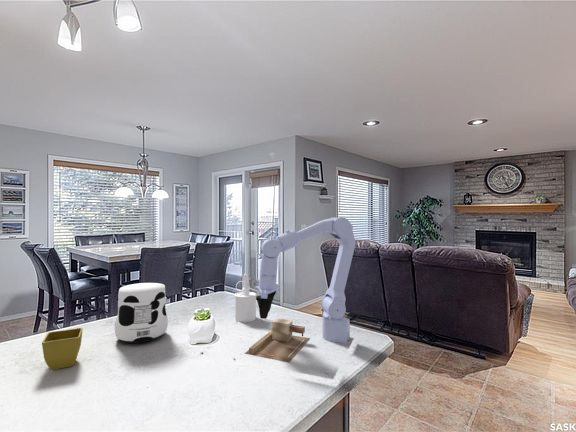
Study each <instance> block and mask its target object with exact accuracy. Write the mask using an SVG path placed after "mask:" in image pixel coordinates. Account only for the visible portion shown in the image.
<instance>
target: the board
mask: <svg viewBox="0 0 576 432" xmlns="http://www.w3.org/2000/svg"><path fill="white" fill-rule="evenodd" d="M310 339H311V338H310V337H307V336H306V337H305V336H300V335H294V334H292V338H291V339H290V340H289V341H288V342H287V341H281V340H275V339H272V329H271V330H270V331H269V332H268V333H266V334H265V335H263V336H262V337H261V338H259V339H258V341H256V342H255V343H253V344H252V345H251V346H250V347H249V348H248V350H247V351H245V352H244V354H245V355H248V356H255V357H259V358H264V359H269V360H274V361H279V362H285V363H291V361H292V360H293V359H294V358H295V357H296V355H297V354H298V353H299V352H300V351H301V350H302V349H303V348H304V346H305V345H306V344H307V342H309V341H310Z"/></svg>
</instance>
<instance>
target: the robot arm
mask: <svg viewBox="0 0 576 432" xmlns="http://www.w3.org/2000/svg"><path fill="white" fill-rule="evenodd" d="M353 229H354V226H353V224H352V223H351V222H350V221H349V219H348V218H346V217H341V216H340V217H336V216H335V217H334V216H333V217H329V218H326V219H325V218H324V219H322V220H320V221H317V222H315V223H313V224H311V225H309V226H307V227H305V228H302V229H301V230H298V231H296V230H294V229H291V230H290V229H287V230H285V231H284V232H283V233H281V234H279V235H277V236H276V235H274V236H273V235H272V239H265V240H264V241H263V242H262V243H261V246H260V251H261V260H260V269H259V282H258V286H257V285H256V286H255V287H254V290H257V291H258V292H259V294H260V295H259V296H256V303H257V302H258V306H259V310H258V311H259V317H260V319H265V320H266V319H267V318H268V315H269V313H270V311H271V308H272V303H273V301H274V297H275V295H276V294H277V288H276V287H277V276H278V275H277V274H278V264H279V262H278V258H279V257H278V256H279V255H281V253H283V252H286V251H288V250H291V249H293V248H295V247H298V246H299V244H300V243H301V241H302V240H305V239H307V238H310V237H313V236H316V235H318V234H320V233H327V234H329V235H331V236H332V237H334V238H335V240H336V241H337V243H338V244H339V247H338V251H337V255H336V259H335V264H334V267H333V272H332V277H331V281H330V285H329V287H328V289H326V291H325V294H324V296H323V297H322V298H321V301H320V306H321V308H322V311H323V312H322V333H321V334H322V336H321V337H322V339H324V341H328V342H334V343H335V342H337V343H342V344H347V343H348V341H350V335H351V334H350V330H351V329H350V328H351V323H350V322H351V321H350V318H348V317H345V315H346V312H347V308H346V300H347V299H346V294H345V290H346V285H347V282H348V281H347V280H348V277H349V273H350V270H351V269H350V268H351V265H352V260H353V256H354V251H355V248H356V239H355V234H354V230H353Z"/></svg>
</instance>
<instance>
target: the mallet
mask: <svg viewBox="0 0 576 432" xmlns="http://www.w3.org/2000/svg"><path fill="white" fill-rule="evenodd" d="M271 327H272V329H271V330H272V339H275V340H281V341H287V342H288V341H289V340H290V339H291V338H292V335H293V333H295V334H296V333H297V334H301V337H304V334H305V332H306V326H302V325H297V324H296V325H294V324H293V320H291V319H283V318H278V317H277V318H275V319H273V321H272V322H271Z"/></svg>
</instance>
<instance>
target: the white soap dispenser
mask: <svg viewBox="0 0 576 432" xmlns="http://www.w3.org/2000/svg"><path fill="white" fill-rule="evenodd" d="M249 277H250V276H249V275H248V273H244V274H243V280H239V281H237V282H236V285H235V289H236V291H239V292H235V293H234V320H233V323H234V324H237V323H238V322H241V323H247V322H249V323H250V322H253V321H255V320H256V319H257V310H258V311H259V306H258V302H257V300H256V296H260V291H259V290H258V289H255V288H254V289H253V288H251V286H250V283H249V282H250V281H249V279H250V278H249ZM242 282H243V287H242V289H238V288H237V286H238V284H239V283H242ZM250 290H251V291H250ZM253 291H255V292H253Z"/></svg>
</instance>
